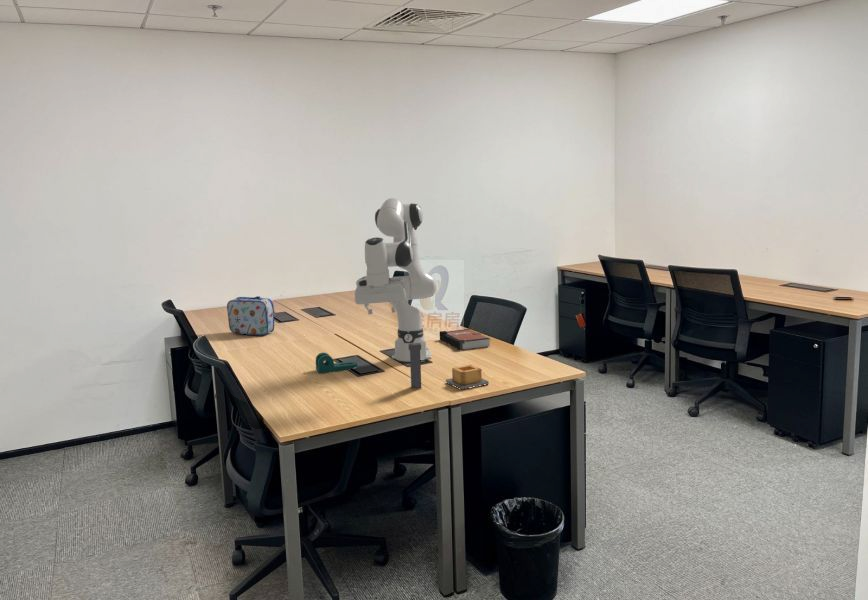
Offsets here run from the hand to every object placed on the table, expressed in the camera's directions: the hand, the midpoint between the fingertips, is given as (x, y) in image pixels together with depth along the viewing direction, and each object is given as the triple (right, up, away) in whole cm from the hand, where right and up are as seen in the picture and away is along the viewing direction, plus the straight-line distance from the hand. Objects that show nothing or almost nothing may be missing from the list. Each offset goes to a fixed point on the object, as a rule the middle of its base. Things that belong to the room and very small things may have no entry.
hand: (382, 313), depth 277 cm
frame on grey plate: (+34, -29, +5) cm, 45 cm away
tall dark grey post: (+14, -30, +2) cm, 33 cm away
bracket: (-22, -26, +33) cm, 48 cm away
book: (+37, -17, +75) cm, 85 cm away
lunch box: (-81, -14, +112) cm, 139 cm away
